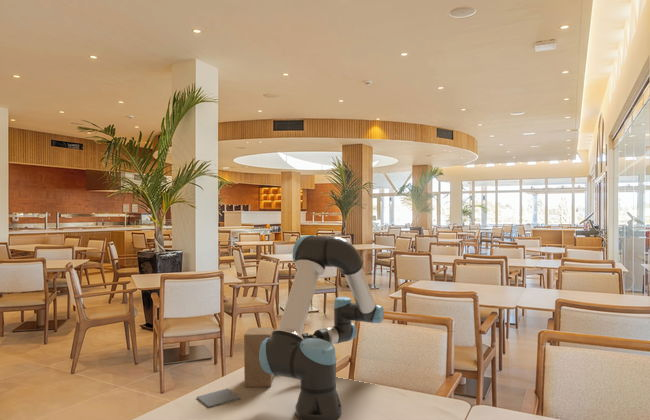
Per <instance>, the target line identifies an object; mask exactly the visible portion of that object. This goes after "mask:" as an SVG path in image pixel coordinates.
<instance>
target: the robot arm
mask: <svg viewBox="0 0 650 420" xmlns="http://www.w3.org/2000/svg"><path fill="white" fill-rule="evenodd" d="M292 260H293V262H294V266H295V268H296V270H295V271H296V272H295V275H294V278H293V281H292V284H291V288H290V289H289V290H290V291H289V293H288V297H287V300H286V304H285V307H284V310H283V313H282V316H281V319H280V323H279V325H278V328H276V329H274V331H273V332H272V335H271V338H266V339H265V340H264V341H263V342H262V344H261V346H260V351H259V360H260V365H261V367H262V369H263V370H264V371H265V372H266V373H269V374H273V375H274V377H276V376H278V377H286V378H290V379H297V380H300V391H299V394H298V398H297V402H296V404H295V416H296V417H297V418H298V419H299V420H338V419H339V418H340V417H341V416H342V403H341V401H340V397H339V395H338V391H337V354H336V347H335V345H336V344H340V343H345V342H349V341H352V340H354V339H355V338H356V336H357V334H358V333H357V332H358V331H357V330H358V329H357V327H356V325H355V324H354V323H352V321H354V322H362V323H370V324H382V322H383V321H384V316H385V310H384V307H383V306H382V305H378V304H376V301H375V300H374V296H373V294H372V291H371V288H370V286H369V282H368V280H367V277H366V274H365V272H364V269H363V265H364V261H363V259H362V256H361V254H360V253H359V251H358V250H357V248H356V247H355V246H354V245H353V244H351V242H349V241H348V240H346V239H344V238H343V237H341V236H337V235H333V236H330V235H326V236H325V235H313V234H312V235H311V234H310V235H303V236H300V237H299V238H298V239H297V240H296V241H295V243H294V245H293V248H292ZM326 267H329V268H330V267H331V268H336V269H338V270H339V272H340V274H342V275H343V276H344V277H345V280H346V282H347V285H348V287H349V290H350V292H351V294H352V296H353V297H352V298H353V299H354V302H352V299H351V298H350V297H349V296H348V297H347V296H338V297H335V298H334V302H333V305H334V306H333V316H334V317H333V320H334V323H333V326H328V327H324V328H320V329H319V328H318V329H316V330H315V331H314V333H313V334H309V333H308V332H304V328H305V325H306V321H307V318H308V314H309V310H310V308H311V304H312V300H313V297H314V294H315V289H316V287H317V283H318V280H319V277H320V276H321V275H323V274H324V272H325V270H326ZM303 332H304V333H303Z"/></svg>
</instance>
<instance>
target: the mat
mask: <svg viewBox="0 0 650 420" xmlns="http://www.w3.org/2000/svg"><path fill="white" fill-rule="evenodd" d="M196 399H197V400H198V401H199V402H200V403H202V404H203V405H204V406H205V407H207V409H211V408H214V407H218V406H220V405H224V404H228V403H230V402H235V401H237V400H240V399H241V396H240V395H238V394H237V393H236V392H234V391H232V390H231V389H230V388H229V387H228V388H224V389H220V390H217V391H213V392H209V393H207V394H202V395H199V396H196Z"/></svg>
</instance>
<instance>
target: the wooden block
mask: <svg viewBox="0 0 650 420" xmlns="http://www.w3.org/2000/svg"><path fill="white" fill-rule="evenodd" d="M274 330H275V329H274V327H248V329H247V330H246V332H245V333H244V334H243V345H244V347H243V348H244V351H243V356H244V357H243V359H244V360H243V361H244V363H243V365H244V368H243V369H244V388H245V387H246V388H271V387H272V383H273V380H274V379H275V378H274V377H275V375H273V374H269V373H266V372H265V371H264V370H263V369H262V367H261V365H260V360H259V351H260V346H261V344H262V342H263V341H264V340H265V339H266V338H271V335H272V332H273V331H274Z"/></svg>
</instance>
